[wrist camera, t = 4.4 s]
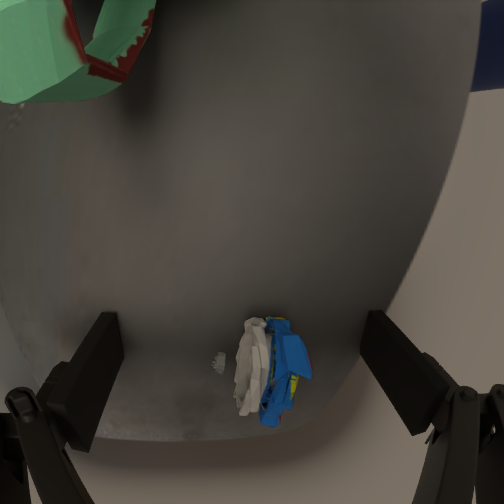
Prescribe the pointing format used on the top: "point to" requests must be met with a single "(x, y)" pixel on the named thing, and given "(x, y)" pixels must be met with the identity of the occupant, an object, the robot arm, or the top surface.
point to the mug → (68, 49)
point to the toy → (267, 368)
